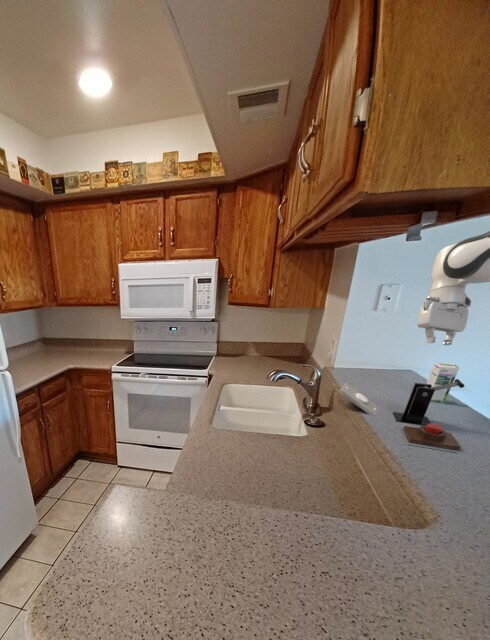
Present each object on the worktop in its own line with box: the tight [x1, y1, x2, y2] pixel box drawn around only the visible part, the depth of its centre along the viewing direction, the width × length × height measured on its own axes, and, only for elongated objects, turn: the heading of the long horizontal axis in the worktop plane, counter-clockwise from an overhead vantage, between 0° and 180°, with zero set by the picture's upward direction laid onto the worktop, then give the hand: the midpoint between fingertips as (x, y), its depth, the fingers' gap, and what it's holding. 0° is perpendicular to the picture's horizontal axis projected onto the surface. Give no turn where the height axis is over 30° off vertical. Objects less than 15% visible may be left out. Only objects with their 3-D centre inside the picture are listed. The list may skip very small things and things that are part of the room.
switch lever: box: [416, 378, 465, 391], centre depth 103 cm, size 11×5×2 cm, turn 65°
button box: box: [402, 425, 461, 454], centre depth 97 cm, size 12×9×4 cm
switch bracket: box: [392, 382, 435, 426], centre depth 107 cm, size 10×8×13 cm
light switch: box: [339, 382, 381, 417], centre depth 118 cm, size 8×6×14 cm
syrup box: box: [426, 362, 460, 405], centre depth 122 cm, size 6×6×14 cm
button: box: [425, 423, 443, 434], centre depth 96 cm, size 4×4×2 cm
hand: (439, 344), depth 107 cm, fingers open, 8 cm apart
